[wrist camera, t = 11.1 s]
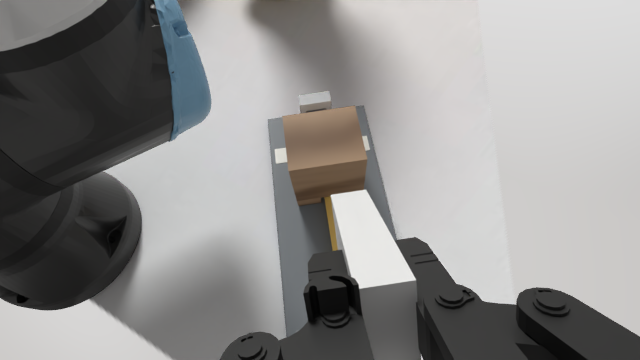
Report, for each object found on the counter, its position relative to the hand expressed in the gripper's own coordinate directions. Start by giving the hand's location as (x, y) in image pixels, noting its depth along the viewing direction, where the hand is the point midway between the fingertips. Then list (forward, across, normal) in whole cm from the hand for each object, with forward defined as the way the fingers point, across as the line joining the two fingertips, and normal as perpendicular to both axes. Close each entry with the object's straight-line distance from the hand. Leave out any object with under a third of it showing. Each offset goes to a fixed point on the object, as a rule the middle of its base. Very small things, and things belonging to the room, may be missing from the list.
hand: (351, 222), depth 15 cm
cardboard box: (+24, 0, -6) cm, 25 cm away
